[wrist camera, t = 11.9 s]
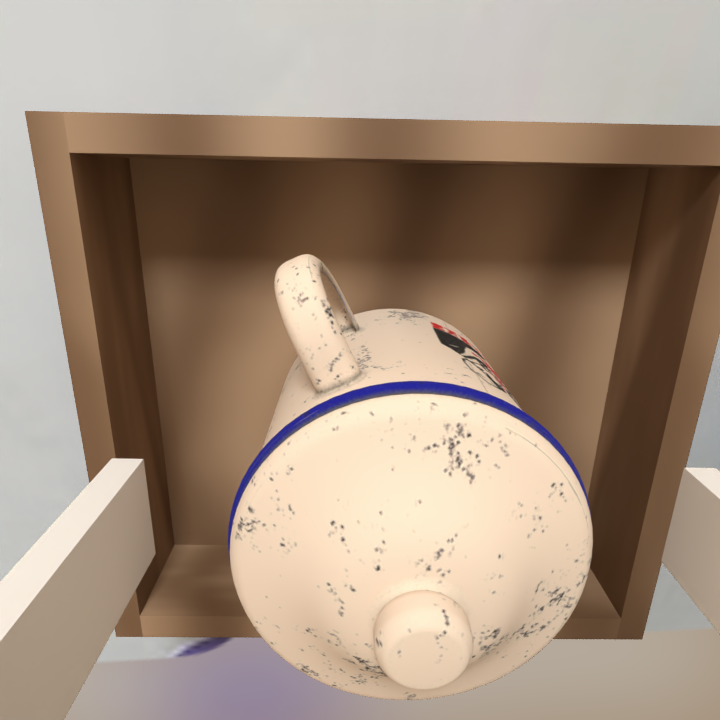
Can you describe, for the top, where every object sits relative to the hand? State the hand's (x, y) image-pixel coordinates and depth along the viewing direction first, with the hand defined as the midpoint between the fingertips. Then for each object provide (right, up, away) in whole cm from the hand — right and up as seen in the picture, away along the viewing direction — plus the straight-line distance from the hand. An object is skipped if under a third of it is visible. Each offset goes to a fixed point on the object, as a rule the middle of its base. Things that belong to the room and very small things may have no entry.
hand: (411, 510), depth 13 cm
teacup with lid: (-1, +3, +8) cm, 9 cm away
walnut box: (0, +3, +9) cm, 9 cm away
